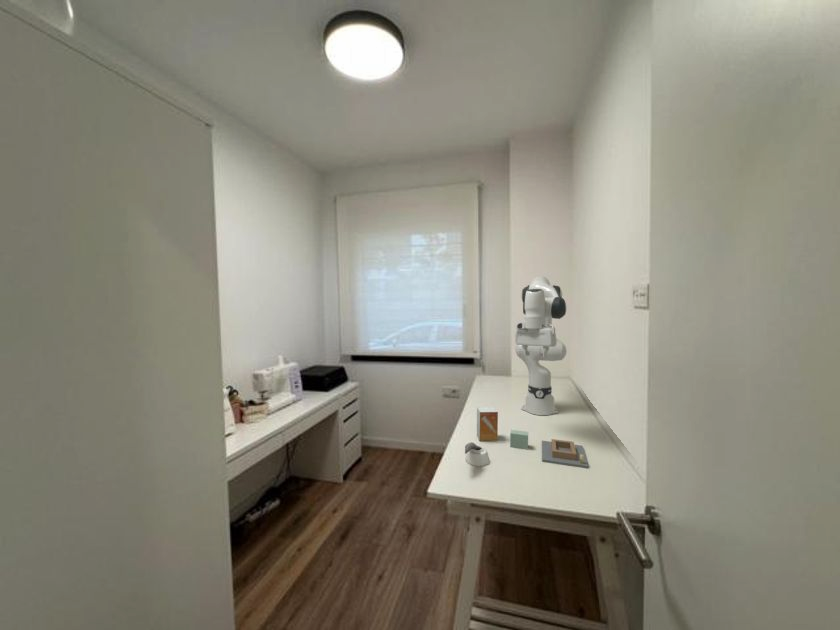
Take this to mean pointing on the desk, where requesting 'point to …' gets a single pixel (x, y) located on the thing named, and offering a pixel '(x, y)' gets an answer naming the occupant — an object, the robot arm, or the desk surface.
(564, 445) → the keyed plate
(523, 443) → the sage block
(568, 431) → the desk surface
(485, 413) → the small box
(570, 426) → the desk surface
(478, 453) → the inkwell
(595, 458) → the desk surface
